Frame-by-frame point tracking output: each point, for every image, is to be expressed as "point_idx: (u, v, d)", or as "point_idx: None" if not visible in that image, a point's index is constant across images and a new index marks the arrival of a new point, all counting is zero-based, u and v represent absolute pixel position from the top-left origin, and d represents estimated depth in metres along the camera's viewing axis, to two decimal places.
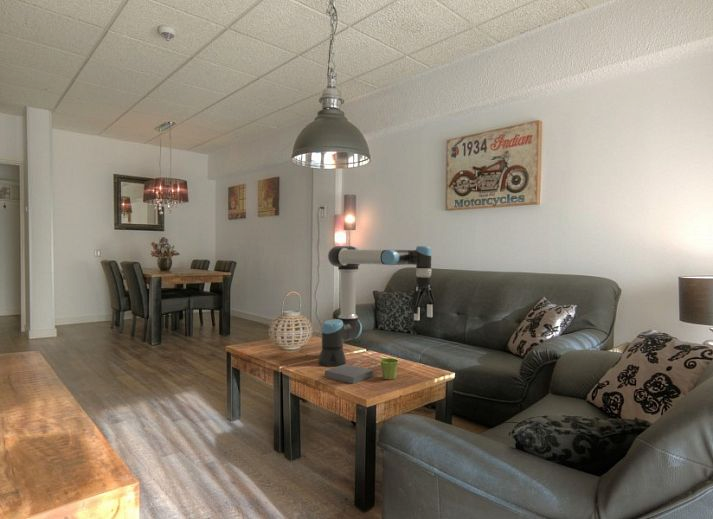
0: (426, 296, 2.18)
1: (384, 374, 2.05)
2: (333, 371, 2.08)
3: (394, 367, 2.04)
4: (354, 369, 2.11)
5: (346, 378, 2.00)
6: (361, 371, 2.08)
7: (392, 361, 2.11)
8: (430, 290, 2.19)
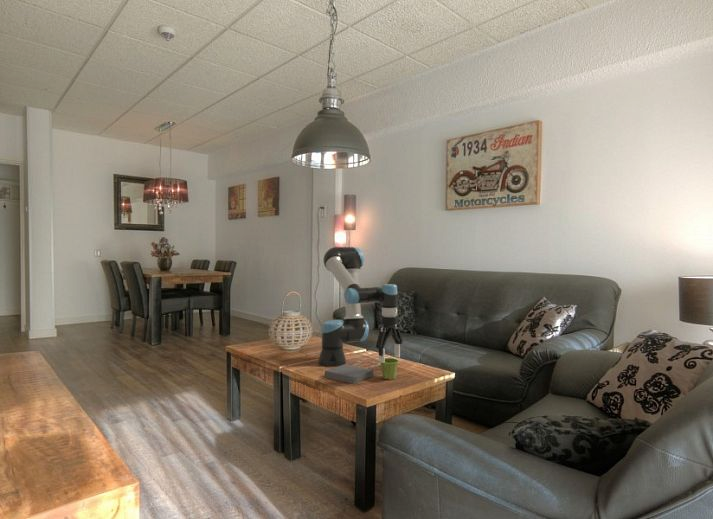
0: (393, 336, 2.10)
1: (384, 374, 2.05)
2: (333, 371, 2.08)
3: (394, 367, 2.04)
4: (354, 369, 2.11)
5: (346, 378, 2.00)
6: (361, 371, 2.08)
7: (392, 361, 2.11)
8: (397, 329, 2.11)
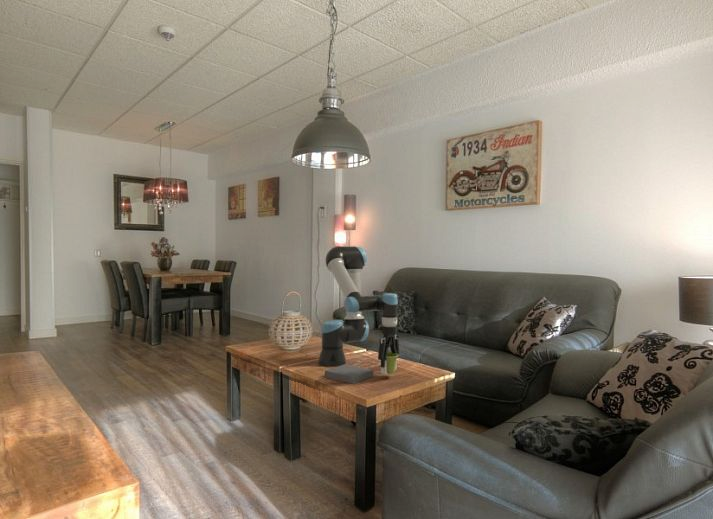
0: (391, 346, 2.10)
1: None
2: (333, 371, 2.08)
3: (393, 361, 2.04)
4: (354, 369, 2.11)
5: (346, 378, 2.00)
6: (361, 371, 2.08)
7: (391, 355, 2.11)
8: (396, 340, 2.11)
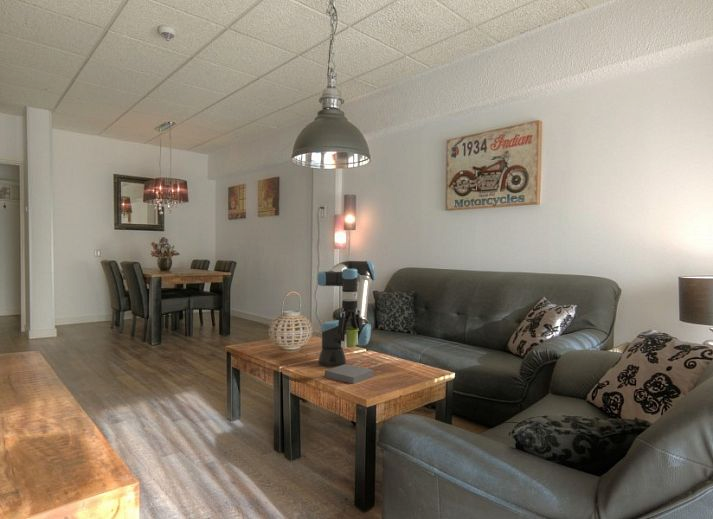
0: (352, 321, 2.12)
1: None
2: (333, 371, 2.08)
3: (353, 335, 2.06)
4: (354, 369, 2.11)
5: (346, 378, 2.00)
6: (361, 371, 2.08)
7: (353, 330, 2.13)
8: (357, 315, 2.13)
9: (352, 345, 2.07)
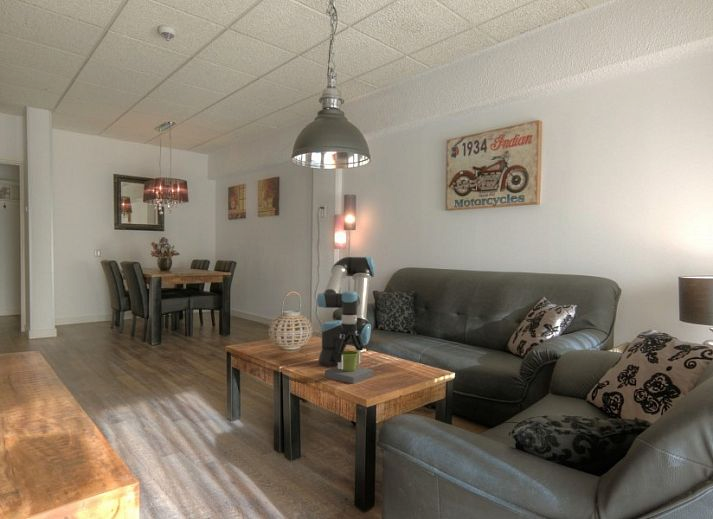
0: (353, 342, 2.13)
1: (344, 366, 2.08)
2: (333, 371, 2.08)
3: (353, 359, 2.07)
4: None
5: (346, 378, 2.00)
6: (361, 371, 2.08)
7: (353, 353, 2.13)
8: (357, 336, 2.14)
9: (352, 369, 2.07)
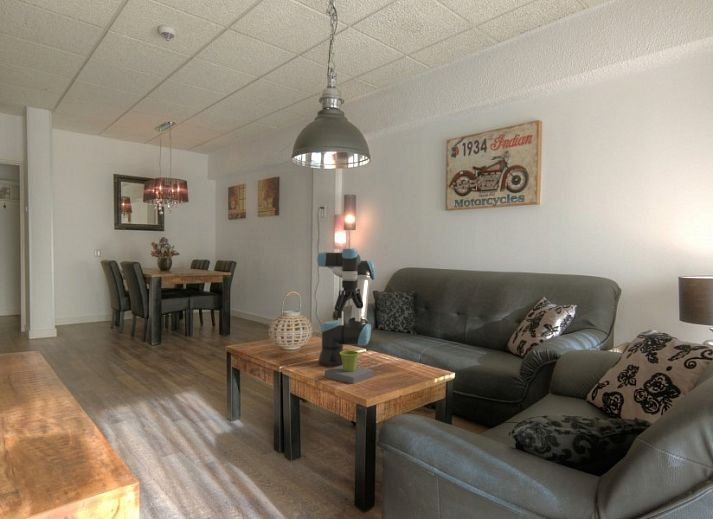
0: (353, 300, 2.12)
1: (344, 366, 2.08)
2: (333, 371, 2.08)
3: (353, 359, 2.07)
4: None
5: (346, 378, 2.00)
6: (361, 371, 2.08)
7: (353, 353, 2.13)
8: (358, 293, 2.13)
9: (352, 369, 2.07)
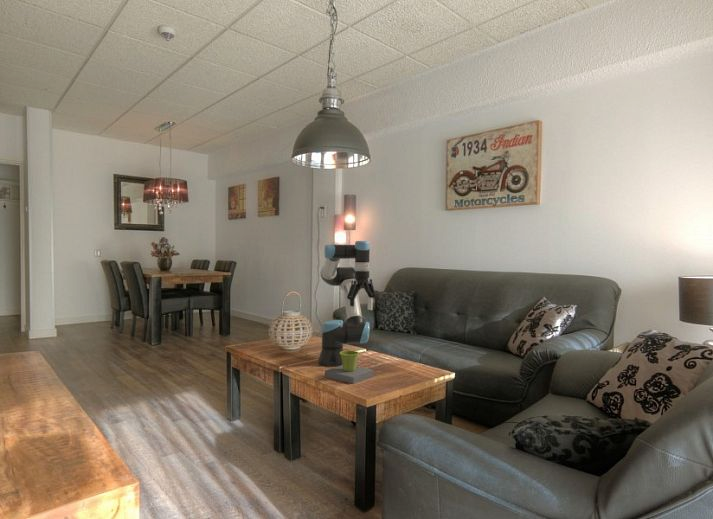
0: (366, 289, 2.25)
1: (344, 366, 2.08)
2: (333, 371, 2.08)
3: (353, 359, 2.07)
4: None
5: (346, 378, 2.00)
6: (361, 371, 2.08)
7: (353, 353, 2.13)
8: (370, 284, 2.25)
9: (352, 369, 2.07)
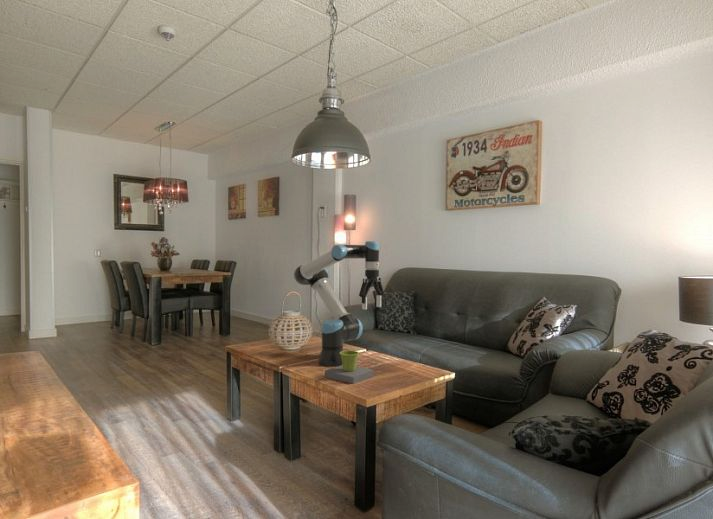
0: (375, 287, 2.36)
1: (344, 366, 2.08)
2: (333, 371, 2.08)
3: (353, 359, 2.07)
4: None
5: (346, 378, 2.00)
6: (361, 371, 2.08)
7: (353, 353, 2.13)
8: (379, 282, 2.37)
9: (352, 369, 2.07)
